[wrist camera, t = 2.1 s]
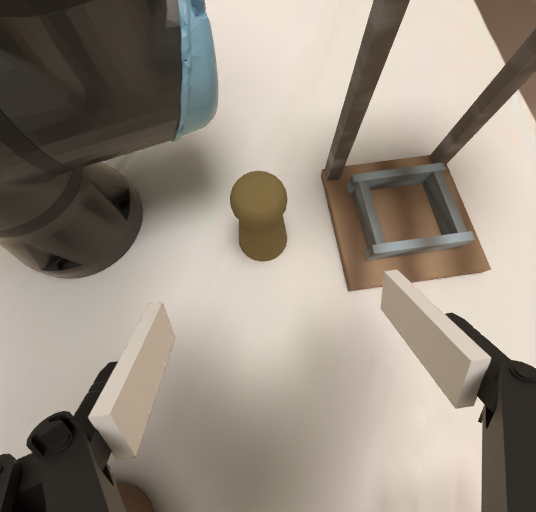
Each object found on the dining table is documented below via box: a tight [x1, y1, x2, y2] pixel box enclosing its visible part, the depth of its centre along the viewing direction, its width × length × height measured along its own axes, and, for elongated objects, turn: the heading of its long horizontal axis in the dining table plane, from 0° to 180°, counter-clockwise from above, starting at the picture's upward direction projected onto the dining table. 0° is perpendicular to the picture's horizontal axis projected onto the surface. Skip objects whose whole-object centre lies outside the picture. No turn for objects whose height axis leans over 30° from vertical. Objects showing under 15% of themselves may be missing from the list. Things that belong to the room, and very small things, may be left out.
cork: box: [230, 171, 287, 261], centre depth 27 cm, size 6×6×11 cm
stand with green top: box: [321, 0, 536, 291], centre depth 20 cm, size 17×16×27 cm
